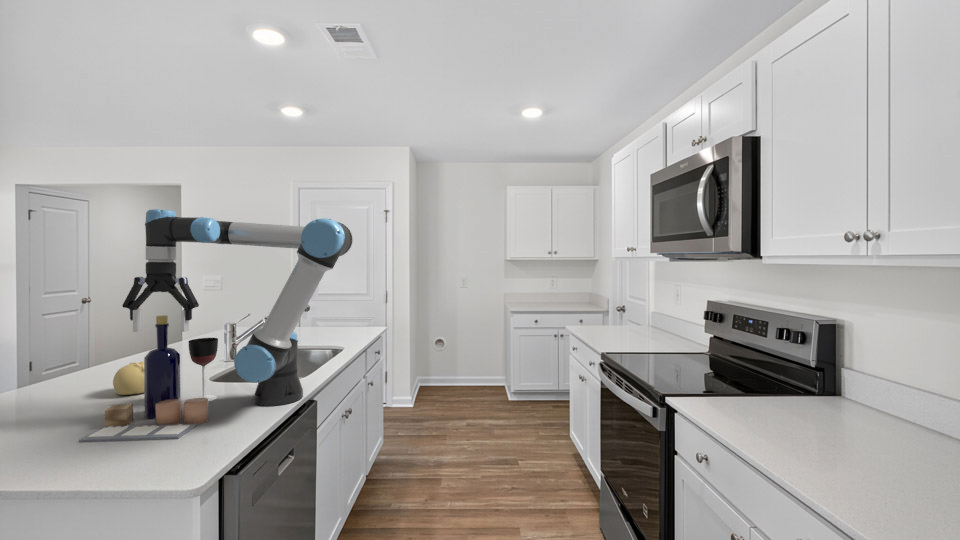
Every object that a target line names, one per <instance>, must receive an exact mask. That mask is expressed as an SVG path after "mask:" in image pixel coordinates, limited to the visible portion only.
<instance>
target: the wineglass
mask: <svg viewBox="0 0 960 540" xmlns="http://www.w3.org/2000/svg"><path fill="white" fill-rule="evenodd" d="M218 346H219V338H218V337H202V338H201V337H199V338H194V339H190V340H188V352H189V357H190V360H191V362H192V363H194V364H196V365H199V366H200V367H202V368H201V369H202V382H201V383H202V396H201V395H200V396H196V397H195V398H208V402H211V401H214V400H216V399H217V398H218V397H217V396H216V395H208V394H207V395H206V366H207V365H209V364H210V363H212V362H213V361H214V360H215V359H216V357H217V354H218V353H217V352H218Z"/></svg>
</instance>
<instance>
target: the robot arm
mask: <svg viewBox="0 0 960 540" xmlns="http://www.w3.org/2000/svg"><path fill="white" fill-rule="evenodd" d="M144 226H145V260H147V261H146V262H145V275H146V277H144V276H136V277H134V278H133V285H132V287H131V289H130V291H129V293H128V294H127V296H126V297H125V300H124V302H123V304H122V308H124V309H125V308H126V309H129V319H130V321H132V332H133V333H137V332H141V331H142V308H141V309H140V307H141V306H142V305H143V304H144V302H146V300H147V299H148V298H149V297H150V296H151V295H152V294H153V293H159V292H160V293H168V294H170V295H171V296H172V297H173V298H174V299H175V300H176V301H177V303H178V304H179V305H180V306H181V307H182V308H183V309H182V310H181V311H180V312H181V321H180V323H181V324H180V325H181V329H180V330H181V332H182V333H185V332H188V331H190V320H192V319H193V309H196V308H198V307H199V306H200V304H199V302H198V300H197V298H196V297H195V295H194V293H193V291H192V289H191V287H190V285H189V280H188V277H187V276H183V277H177V263H176V262H175V261H176V260H177V243H180V242H181V243H202V244H217V245H237V246H240V245H241V246H253V247H266V248H267V247H268V248H269V247H270V248H279V249H281V248H282V249H296V254H297V257H298V260H297V262H296V263H295V265H294V267H293V269H292V271H291V272H290V275H289V277H288V279H287V281H286V282H285V284H284V285H283V288H282V290H281V292H280V293H279V296H278V297H277V299H276V301H275V302H274V305H273V307H272V308H271V310H270V312H269V313H268V316H267V318H266V320H265V322H264V323H263V324H262V327H260V328H256V329H255V330H254V331H253V333H252V335H251V336H250V339H248V342H247V343H246V345H245V346H243V347H241V348H240V349H239V350H238V351H237V352H236V354H235V357H234V361H233V363H234V365H233V366H234V368H235V371H236V373H237V375H238V376H239V377H240V378H241V379H243V380H245V381H246V382H249V383H256V384H257V385H256V389H255V391H254V394H253V403H254V404H257V405H260V406H266V407H267V406H269V407H270V406H271V407H272V406H273V407H274V406H282V405H287V404H292V403H295V402H298V401H299V400H301V399H303V397H304V390H303V386H302V384H301V380H300V377H299V375H298V374H299V373H298V360H299V359H298V354H299V353H298V349H299V348H298V344H299V343H298V342H299V340H298V334H297V332H296V331H295V330H296V327H297V325H298V324H299V322H300V320H301V318H302V316H303V314H304V312H305V310H306V308H307V307H308V305H309V303H310V301H311V299H312V297H313V295H314V293H315V292H316V289H317V288H318V286H319V284H320V283H321V280H322V279H323V277H324V274H325V273H326V272H327V271H330V270H333V269H334V267H335V265H336V264H337V262H338V260H339V258H340V257H341V256H344V255H345V254H347V253H348V252H349V251H350V249H351V248H352V245H353V235H352V232H351V230H350V229H349V228H348V227H347V225H345V224H344V223H341V222H339V221H336V220H333V219H331V218H326V217H325V218H324V217H323V218H316V219H314V220H312V221H310V222H309V223H307V224H306V225H305V226H303V225H302V226H301V225H300V226H299V225H287V224H283V225H282V224H268V223H256V222H255V223H254V222H253V223H252V222H240V221H239V222H237V221H224V220H223V221H221V220H216V219H214V218H213V217H204V216H200V217H198V216H197V217H189V216H188V217H180V216H177V213H176V211H174V210H169V209H157V208H156V209H155V208H154V209H153V208H152V209H148V210H147V211H146V213H145V223H144ZM144 284H146V285H147V286H146V287H145V288H144V289H143V290H142V288H143V286H144ZM176 284H178V285H179V288H180V290H181V291H182V292H180V290H179V288H178V287H177V286H176ZM141 290H142V292H141V293H140V291H141ZM139 293H140V294H139ZM182 293H183V294H182Z"/></svg>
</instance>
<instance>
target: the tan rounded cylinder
mask: <svg viewBox="0 0 960 540" xmlns="http://www.w3.org/2000/svg"><path fill="white" fill-rule="evenodd" d="M207 421H209V401H208V398H196V397H193V398H190V399H187V400H185V401H184V402H183V424H196V425H200V424H204V423H206V422H207Z"/></svg>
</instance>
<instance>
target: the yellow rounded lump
mask: <svg viewBox="0 0 960 540" xmlns="http://www.w3.org/2000/svg"><path fill="white" fill-rule="evenodd" d="M112 386H113V389H114V390H115V392H116V393H117V394H118V395H121V396H127V395H137V394H143V393H144V361H139V362H136V361H135V362H129V364H126V365H124V366H122V367H120V368H119V369H118V370H117V371H116V373H115V374H114V376H113V379H112Z"/></svg>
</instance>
